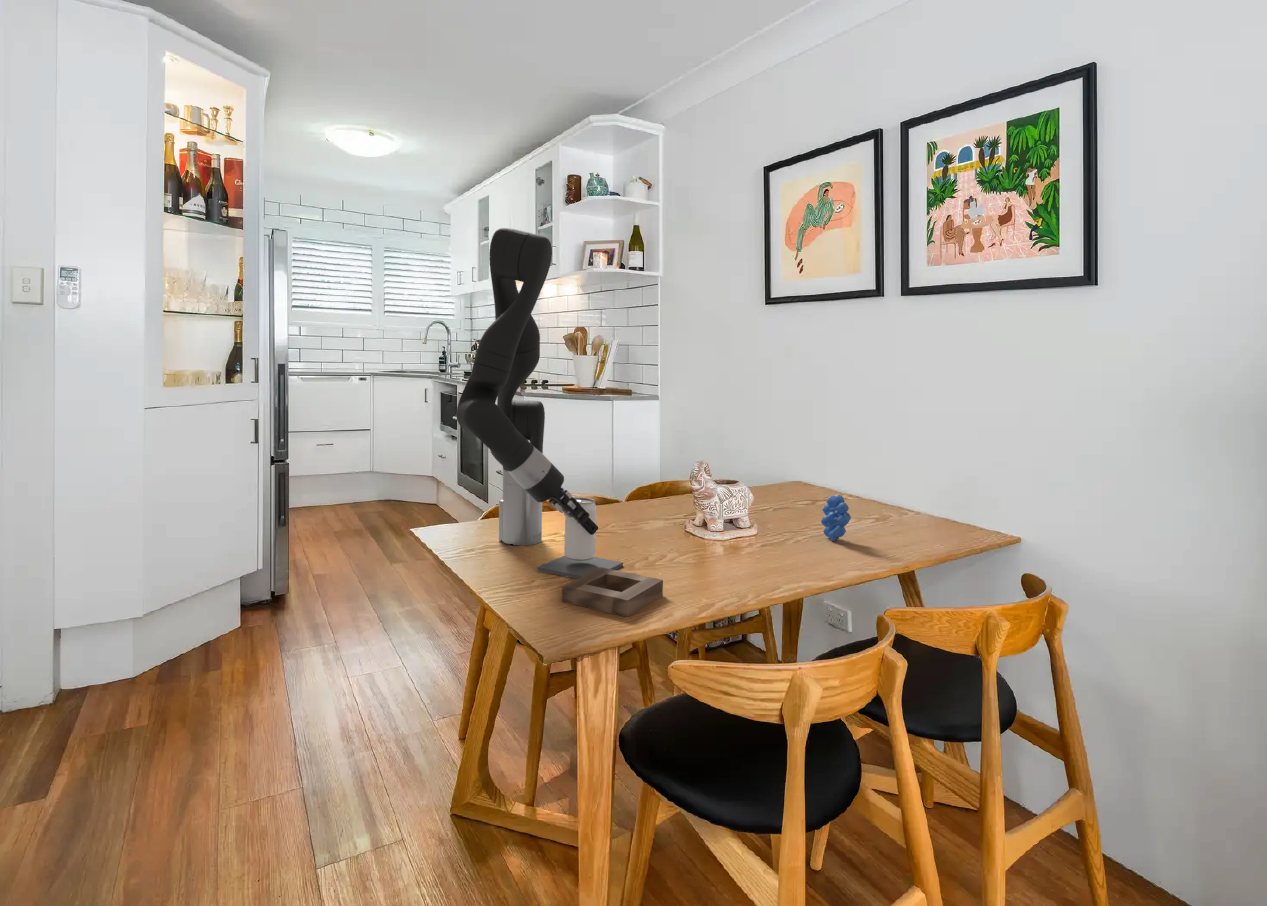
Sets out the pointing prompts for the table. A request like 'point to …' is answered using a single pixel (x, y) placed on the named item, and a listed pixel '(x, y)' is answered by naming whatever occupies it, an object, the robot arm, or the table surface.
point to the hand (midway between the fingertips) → (588, 527)
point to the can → (580, 534)
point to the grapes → (835, 517)
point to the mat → (577, 566)
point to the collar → (600, 595)
